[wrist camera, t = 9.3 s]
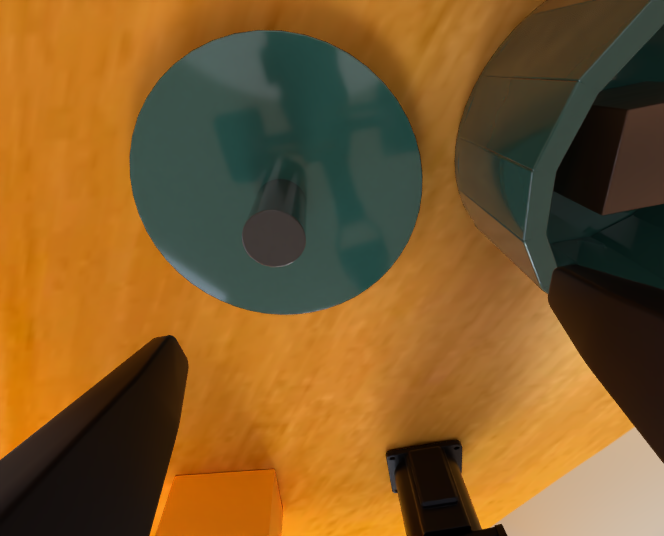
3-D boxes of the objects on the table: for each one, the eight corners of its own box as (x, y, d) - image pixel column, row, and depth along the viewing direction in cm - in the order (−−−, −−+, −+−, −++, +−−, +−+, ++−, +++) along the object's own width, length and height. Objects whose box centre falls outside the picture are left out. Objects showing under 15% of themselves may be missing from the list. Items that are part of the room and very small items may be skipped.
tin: (672, 226, 19) (820, 291, 14) (453, 268, 20) (510, 346, 14) (785, -71, 13) (1151, -178, 7) (455, 2, 13) (559, -44, 8)
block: (623, 170, 17) (703, 196, 13) (542, 186, 17) (601, 216, 14) (647, 80, 15) (748, 84, 11) (554, 100, 15) (628, 109, 12)
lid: (422, 280, 20) (453, 339, 16) (204, 321, 21) (176, 388, 16) (406, -3, 13) (455, -37, 9) (79, 71, 14) (-28, 73, 9)
